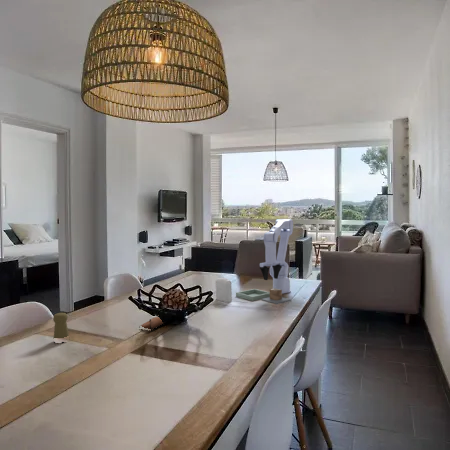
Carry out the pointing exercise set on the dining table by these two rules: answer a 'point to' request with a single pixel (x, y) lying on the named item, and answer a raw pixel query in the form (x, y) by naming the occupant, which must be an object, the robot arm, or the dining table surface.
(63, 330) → the cork
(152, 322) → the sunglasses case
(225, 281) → the white rounded block
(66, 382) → the dining table surface
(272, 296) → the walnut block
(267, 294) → the bin
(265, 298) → the slate mat
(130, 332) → the dining table surface
